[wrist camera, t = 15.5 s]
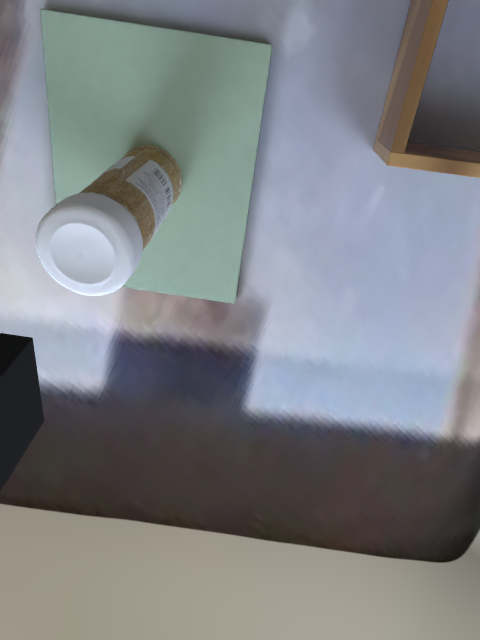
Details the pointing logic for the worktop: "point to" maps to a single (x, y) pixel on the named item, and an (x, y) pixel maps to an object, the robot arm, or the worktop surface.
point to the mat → (162, 134)
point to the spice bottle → (109, 222)
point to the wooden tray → (417, 100)
